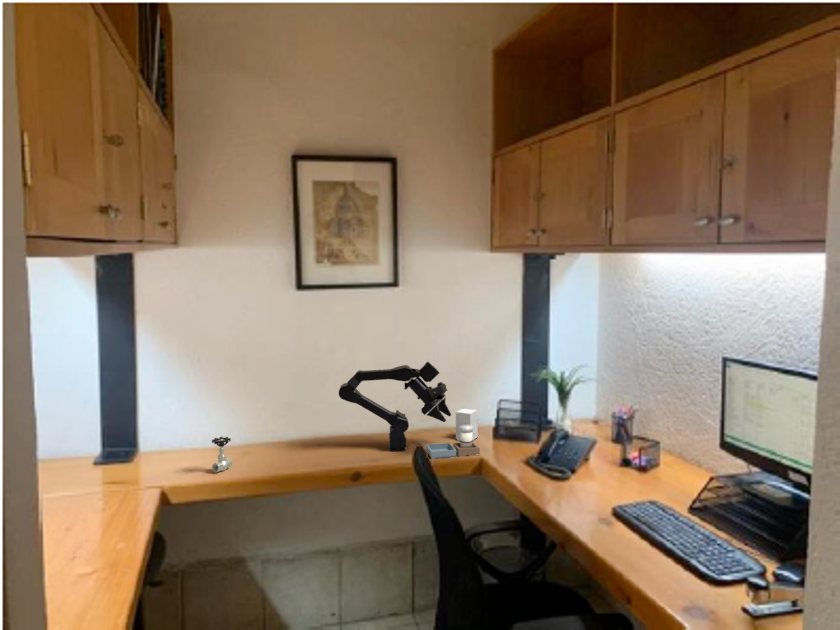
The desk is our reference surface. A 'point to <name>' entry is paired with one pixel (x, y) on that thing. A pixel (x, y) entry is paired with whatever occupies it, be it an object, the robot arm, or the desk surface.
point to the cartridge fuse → (466, 436)
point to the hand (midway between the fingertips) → (447, 418)
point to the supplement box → (467, 421)
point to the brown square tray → (466, 449)
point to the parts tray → (441, 450)
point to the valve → (221, 455)
